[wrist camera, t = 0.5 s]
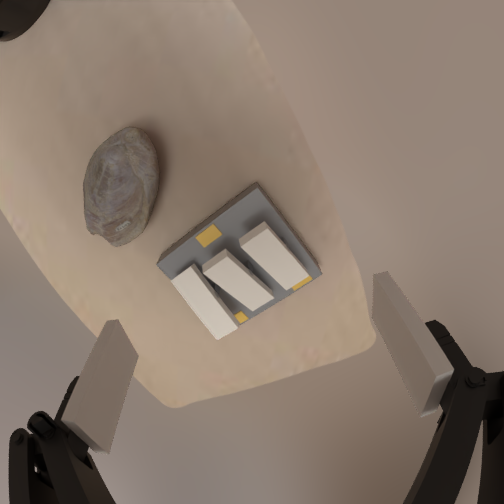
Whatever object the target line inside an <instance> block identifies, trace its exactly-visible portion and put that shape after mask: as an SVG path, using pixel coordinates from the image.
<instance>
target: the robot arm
mask: <svg viewBox="0 0 504 504" xmlns="http://www.w3.org/2000/svg"><path fill="white" fill-rule="evenodd" d="M49 1H50V0H0V41H9V40H12V39H14V38H16V37H18V36H19V35H21V34H22V33H24V32H25V31H26V30H27V29H28V28H29V27H30V26H31V25H32V24H33V23H34V22H35V21H36V20H37V19H38V18H39V16H40V15H41V14H42V12H43V11H44V9H45V8H46V6H47V4H48V3H49ZM372 319H373V321H374V322H375V325H376V326H377V328H378V330H379V332H380V334H381V336H382V338H383V340H384V342H385V344H386V346H387V348H388V350H389V352H390V354H391V356H392V358H393V360H394V362H395V365H396V367H397V369H398V371H399V373H400V375H401V377H402V379H403V381H404V383H405V386H406V388H407V390H408V392H409V394H410V397H411V399H412V401H413V403H414V405H415V408H416V410H417V412H418V415H419V417H420V418H421V417H423V416H426V415H429V414H431V413H433V412H436V410H437V408H438V406H439V404H440V405H441V407H442V409H443V412H442V415H441V416H440V418H439V420H438V422H437V423H438V426H437V429H436V432H435V434H434V437H433V439H432V442H431V444H430V447H429V449H428V452H427V454H426V457H425V459H424V461H423V463H422V466H421V468H420V470H419V473H418V475H417V477H416V479H415V481H414V483H413V485H412V487H411V489H410V491H409V493H408V495H407V497H406V499H405V500H404V503H403V504H454V503H455V500H456V498H457V496H458V494H459V491H460V488H461V486H462V483H463V481H464V478H465V475H466V472H467V469H468V466H469V463H470V460H471V457H472V454H473V451H474V447H475V444H476V440H477V437H478V433H479V429H480V425H481V421H482V420H483V449H482V467H481V478H480V487H479V495H478V502H477V504H504V371H502V372H495V373H486V372H484V371H483V370H482V369H480V368H477V367H473V366H472V365H471V364H470V362H469V361H468V359H467V358H466V356H465V355H464V353H463V352H462V350H461V349H460V347H459V346H458V345H457V343H456V342H455V340H454V339H453V337H452V336H450V333H449V332H448V330H447V329H446V327H445V326H444V325H442V324H441V323H439V322H438V321H436V320H433V321H430V322H426V323H424V322H423V320H422V319H421V317H420V316H419V315H418V313H417V312H416V310H415V309H414V307H413V306H412V304H411V303H410V302H409V300H408V299H407V297H406V296H405V295H404V293H403V292H402V290H401V289H400V288H399V287H398V285H397V284H396V282H395V281H394V280H393V278H392V277H391V276H390V275H389V273H388V272H383V273H378V274H374V275H373V306H372ZM138 357H139V356H138V354H137V352H136V350H135V349H134V347H133V345H132V343H131V342H130V340H129V338H128V336H127V335H126V333H125V331H124V329H123V327H122V325H121V324H120V322H119V320H110V321H107V322H106V323H105V325H104V327H103V329H102V331H101V333H100V335H99V337H98V339H97V341H96V343H95V345H94V347H93V349H92V352H91V353H90V355H89V357H88V360H87V362H86V364H85V366H84V368H83V370H82V372H81V375H80V376H76V377H75V379H74V380H73V381H72V382H71V383H70V385H69V387H68V389H67V393H66V394H65V396H64V400H63V401H62V403H61V405H60V407H59V410H58V412H57V414H56V417H55V419H54V420H53V419H52V418H51V417H50V416H49V415H48V414H47V413H45V412H44V411H38V412H36V413H34V414H33V415H32V416H31V417H30V419H29V421H28V424H27V428H28V429H29V430H30V431H31V432H32V433H33V434H29V433H28V432H27V431H26V430H25V429H23V428H19V429H17V430H15V431H14V432H13V433H12V435H11V437H10V443H9V501H10V504H116V503H115V501H114V500H113V498H112V496H111V494H110V493H109V491H108V489H107V487H106V485H105V483H104V481H103V479H102V478H101V475H100V473H99V471H98V469H97V468H96V466H95V463H94V461H93V459H92V457H91V455H90V454H89V453H88V452H87V451H88V448H89V447H90V448H91V449H92V450H93V451H95V452H96V453H101V454H109V452H110V449H111V445H112V441H113V438H114V434H115V431H116V427H117V424H118V420H119V417H120V413H121V410H122V407H123V403H124V400H125V397H126V393H127V390H128V387H129V384H130V381H131V378H132V375H133V372H134V369H135V366H136V363H137V360H138ZM35 467H37V472H35Z"/></svg>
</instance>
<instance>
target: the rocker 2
mask: <svg viewBox="0 0 504 504" xmlns="http://www.w3.org/2000/svg"><path fill="white" fill-rule="evenodd" d="M202 269H203V274H204V275H206V276H207V277H208V278H210V279H211V280H212V281H213V282H215V283H216V284H217V285H219V286H220V287H221V288H222V289H224V290H225V291H226V292H228V293H229V294H230V295H232V296H233V297H234V298H235V299H237V300H238V301H239V302H241V303H242V304H243V305H245V306H246V307H247V308H249V309H250V310H251V311H254V310H256V309H257V308H259V307H261V306H262V305H264V304H265V303H267V302H269V301H270V300H272V299H274V295H273V292H272V290H271V289H270V288H269V287H268V286H266V285H265V284H264V283H263V282H262V281H261V280H260V279H259V278H258V277H256V276H255V275H254V274H253V273H252V271H251V270H250V269H248V268H246V267H245V266H244V265H243V264H242V263H241V262H240V261H239V260H238V259H237V258H235V257H234V256H233V255H232V254H231V253H230V252H229V251H228V250H227V249H224V250H223V251H221V252H220V253H219V254H217V255H216V256H214V257H213V258H212V259H210V260H209V261H207V262H206V263H205V264H203V265H202Z"/></svg>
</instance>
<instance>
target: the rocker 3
mask: <svg viewBox="0 0 504 504" xmlns="http://www.w3.org/2000/svg"><path fill="white" fill-rule="evenodd" d="M239 243H240V246H241V248H242V249H243V250H244V251H245V252H247V253H248V254H249V255H250V256H251V257H252V258H253V259H254V260H255V261H256V262H257V263H258V264H259V265H260V266H261V267H262V268H263V269H264V270H265V271H266V272H267V273H269V274H270V275H271V276H272V277H273V278H274V279H275V280H276V281H277V282H278V283H279V284H280V285H281V286H282V287H283V288H284V289H285V290H288V289H290V288H291V287H293V286H294V285H296V284H297V283H299V282H301V281H302V280H304V279H305V278H307V277H308V276H309V274H308V272H307V269H306V268H305V267H304V266H303V264H302V263H301V262H300V261H299V260H298V259H297V257H296V256H295V255H294V254H293V253H292V252H291V251H290V249H289V248H288V247H287V245H286V244H284V243H283V241H282V240H281V239H280V238H279V237H278V236H277V235H276V234H275V232H274V231H273V230H272V229H271V228H270V227H269V226H268V225H267V223H266V222H265V221H264V222H262V223H261V224H260V225H258V226H257V227H255V228H254V229H252V230H251V231H250V232H248V233H247V234H245V235H244V236H243V237H241V238H240V239H239Z"/></svg>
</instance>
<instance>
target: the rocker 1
mask: <svg viewBox="0 0 504 504" xmlns="http://www.w3.org/2000/svg"><path fill="white" fill-rule="evenodd" d="M171 282H172V284H173V285H174V286H175V288H176V289H177V290H178V292H179V293H180V294H181V295H182V297H183V298H184V299H185V301H186V302H187V303H188V305H189V306H190V307H191V308H192V310H193V311H194V312H195V313H196V315H197V316H198V317H199V318H200V320H201V321H202V322H203V323H204V325H205V326H206V327H207V328H208V330H209V331H210V332H211V333H212V335H213V336H214V337H215V338H216V339H217V340H219V339H220V338H222V337H224V336H226V335H227V334H229V333H231V332H233V331H234V330H236V329H238V328H239V325H240V323H239V321H238V320H237V319H236V317H235V316H234V315H233V314H232V312H231V311H230V310H229V309H228V307H227V306H226V305H225V303H224V302H223V301H222V299H221V298H220V297H219V294H218V293H217V292H216V291H215V290H214V289H213V288H212V286H211V285H210V284H209V282H208V281H207V280H206V279H205V277H204V276H203V275H202V273H201V272H200V271H199V269H198V268H197V267H196V265H195V264H193V265H191V266H190V267H189V268H187V269H186V270H184V271H183V272H182V273H180V274H179V275H178V276H176V277H175V278H174V279H173V280H171Z"/></svg>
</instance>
